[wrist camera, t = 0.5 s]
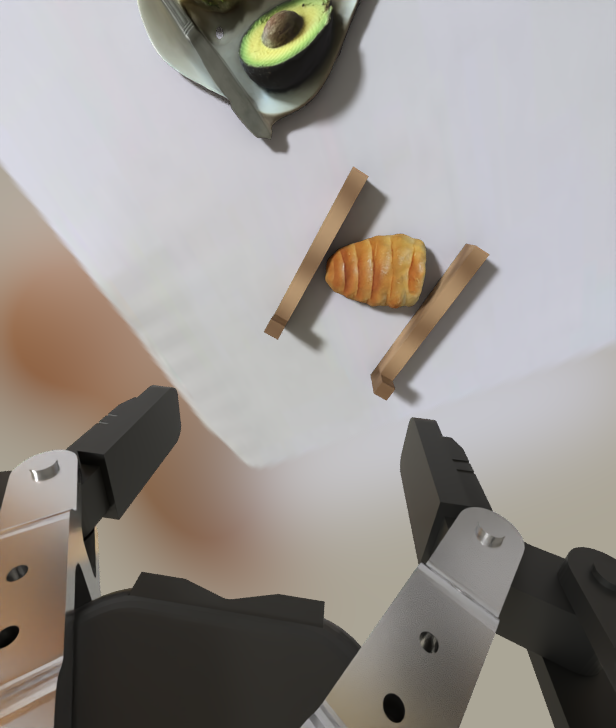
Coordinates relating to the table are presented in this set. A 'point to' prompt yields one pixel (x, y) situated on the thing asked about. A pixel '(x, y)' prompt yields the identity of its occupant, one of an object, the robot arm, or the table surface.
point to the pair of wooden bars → (423, 318)
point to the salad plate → (252, 50)
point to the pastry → (379, 270)
